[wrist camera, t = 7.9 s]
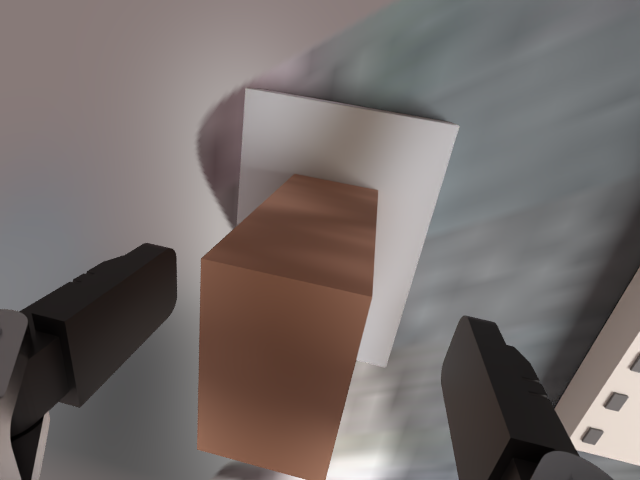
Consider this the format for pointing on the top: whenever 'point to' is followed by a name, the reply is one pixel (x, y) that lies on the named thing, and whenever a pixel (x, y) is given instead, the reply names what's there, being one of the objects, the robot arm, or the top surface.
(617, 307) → the note pad
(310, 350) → the stub
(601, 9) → the top surface
